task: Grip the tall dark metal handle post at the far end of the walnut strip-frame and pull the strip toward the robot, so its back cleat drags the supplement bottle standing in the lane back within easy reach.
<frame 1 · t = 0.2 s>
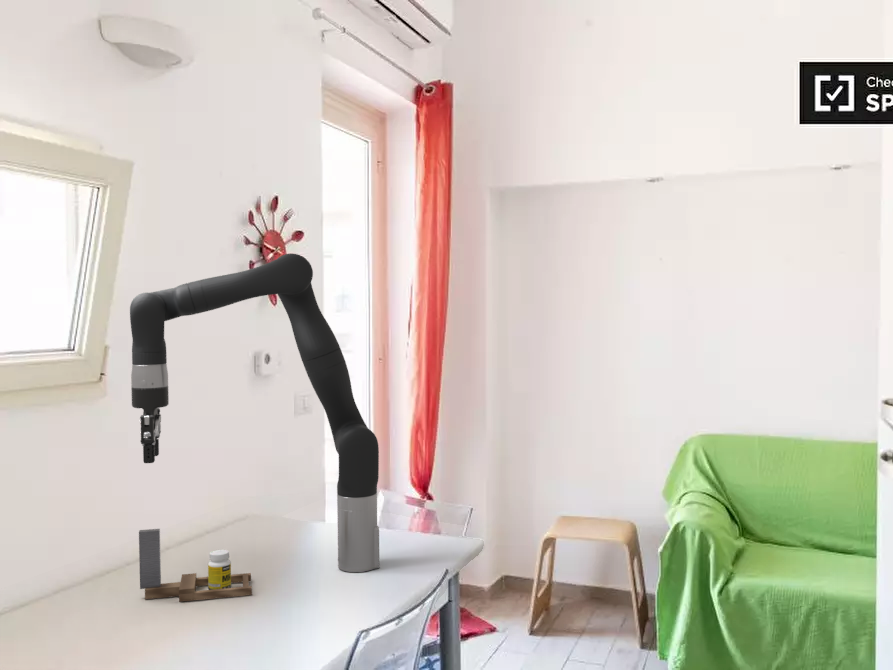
hand: (151, 459, 176), 28 cm above the table, fingers open, 8 cm apart
supplement bottle: (219, 591, 174), resting in strip frame
strip frame: (196, 559, 173), point 7 cm above the table, slide at 0.0 cm
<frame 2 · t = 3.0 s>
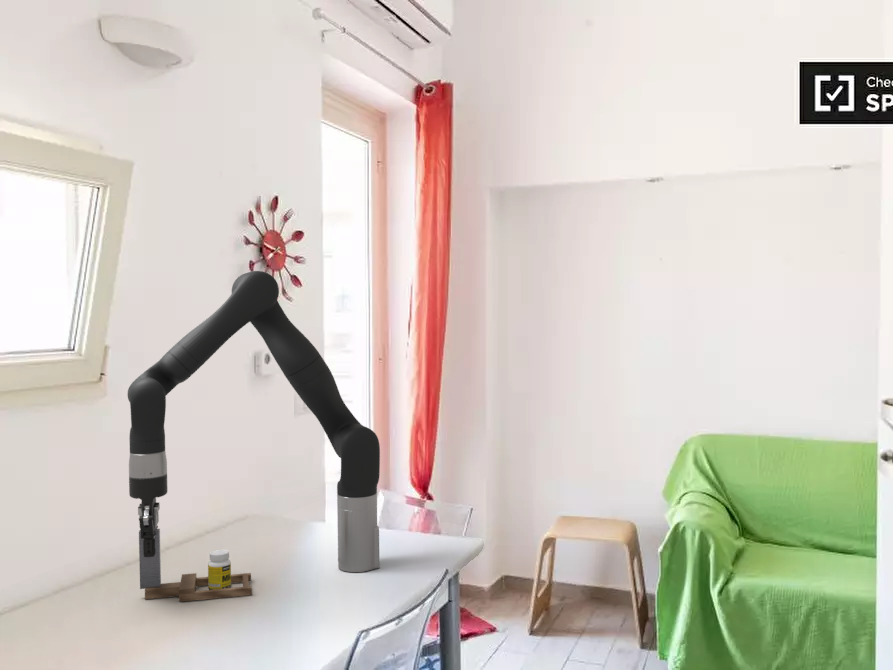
hand: (149, 554, 170), 9 cm above the table, fingers closed on strip frame
strip frame: (196, 559, 173), point 7 cm above the table, slide at 0.0 cm, touching gripper
everything else where it was.
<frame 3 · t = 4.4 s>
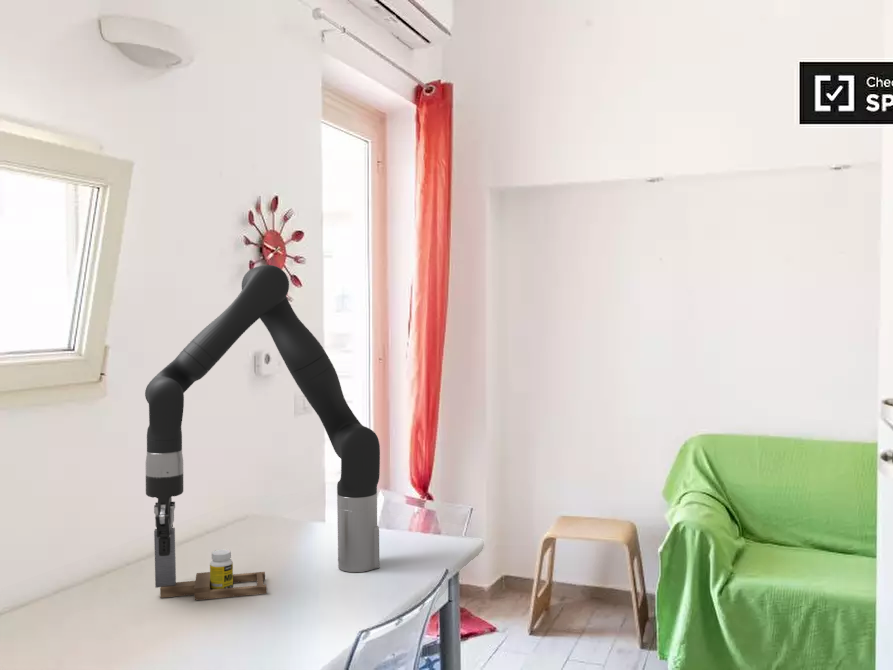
hand: (165, 553, 171), 9 cm above the table, fingers closed on strip frame
supplement bottle: (221, 591, 174), resting in strip frame
strip frame: (211, 558, 174), point 7 cm above the table, slide at 3.0 cm, touching supplement bottle, gripper
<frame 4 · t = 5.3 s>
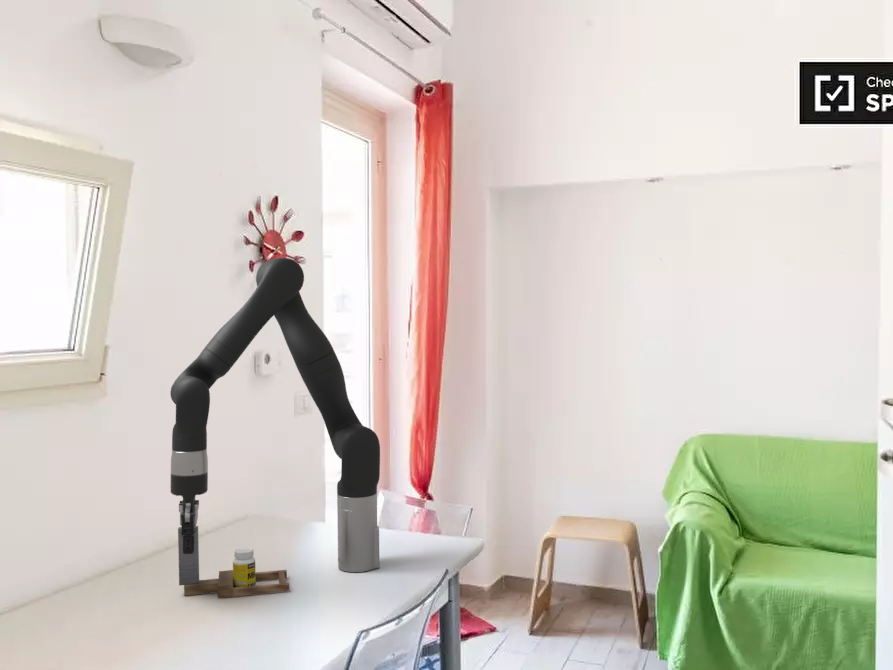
hand: (188, 551, 172), 9 cm above the table, fingers closed on strip frame
supplement bottle: (244, 589, 176), resting in strip frame
strip frame: (234, 556, 175), point 7 cm above the table, slide at 7.8 cm, touching supplement bottle, gripper
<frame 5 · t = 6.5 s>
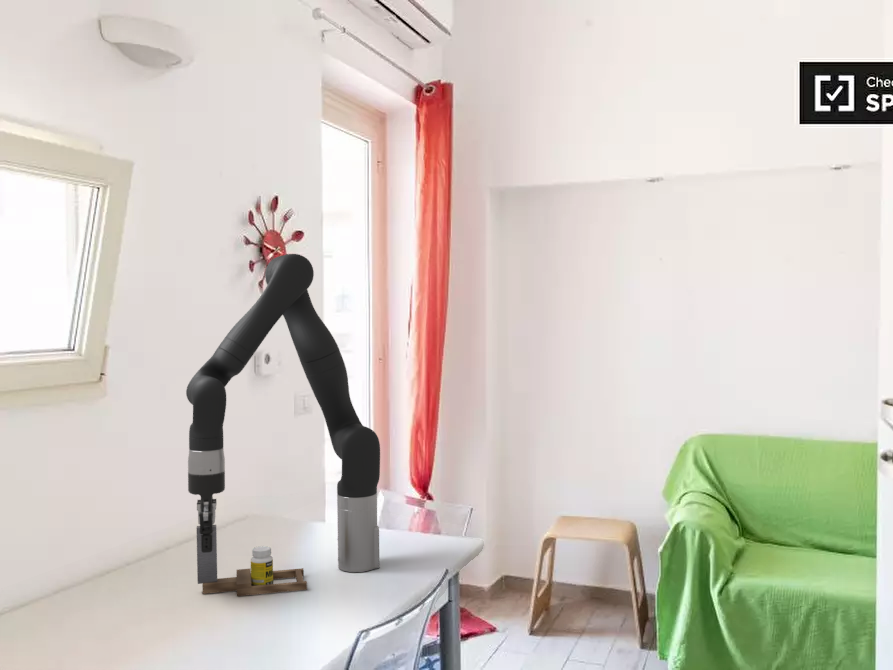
hand: (207, 550, 173), 9 cm above the table, fingers closed on strip frame
supplement bottle: (262, 587, 177), resting in strip frame
strip frame: (251, 554, 176), point 7 cm above the table, slide at 11.5 cm, touching gripper
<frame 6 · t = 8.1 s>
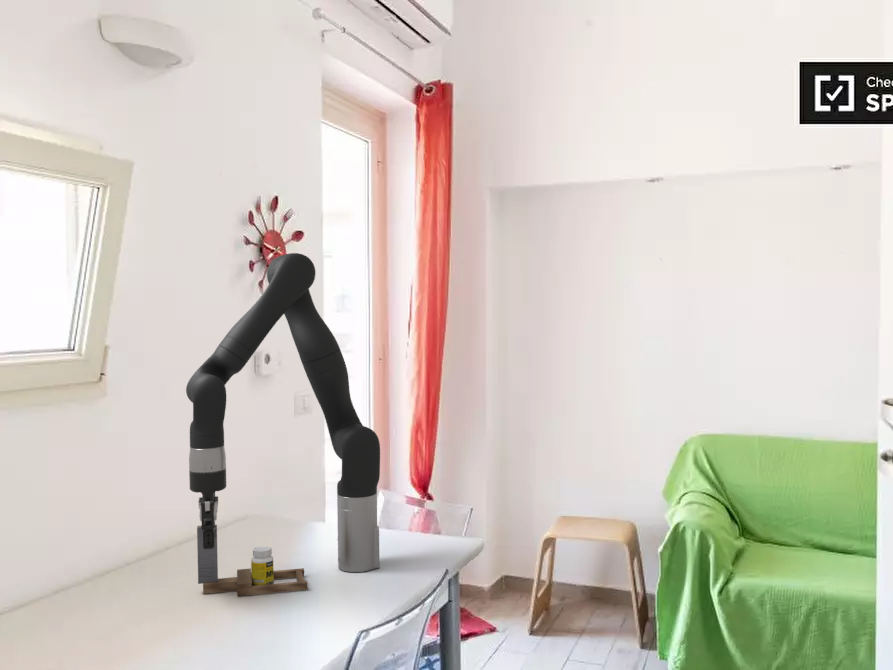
hand: (209, 542, 173), 11 cm above the table, fingers open, 8 cm apart
strip frame: (252, 554, 176), point 7 cm above the table, slide at 11.6 cm
everything else where it was.
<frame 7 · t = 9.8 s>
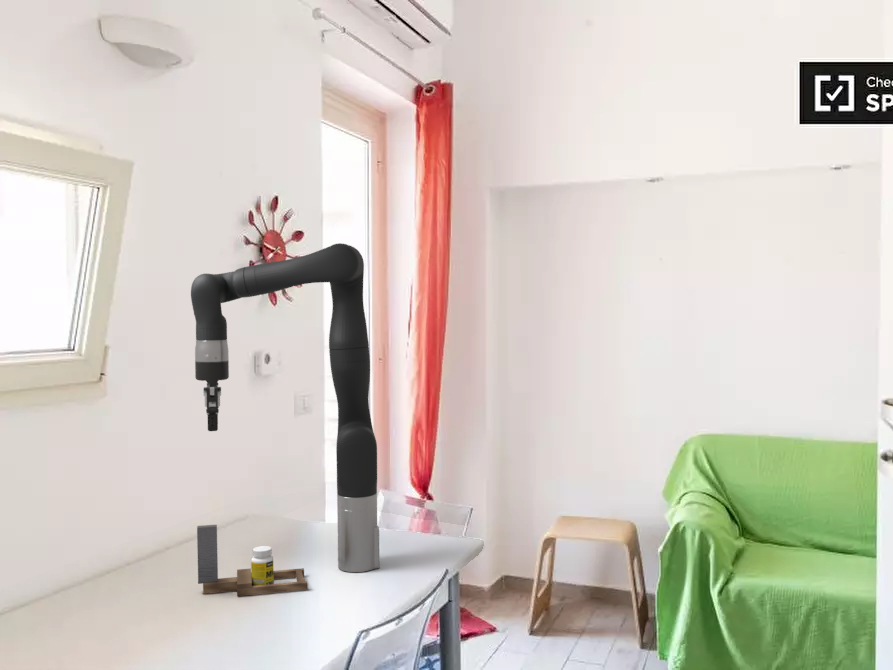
hand: (212, 428, 190), 33 cm above the table, fingers open, 8 cm apart
nothing on the table moved.
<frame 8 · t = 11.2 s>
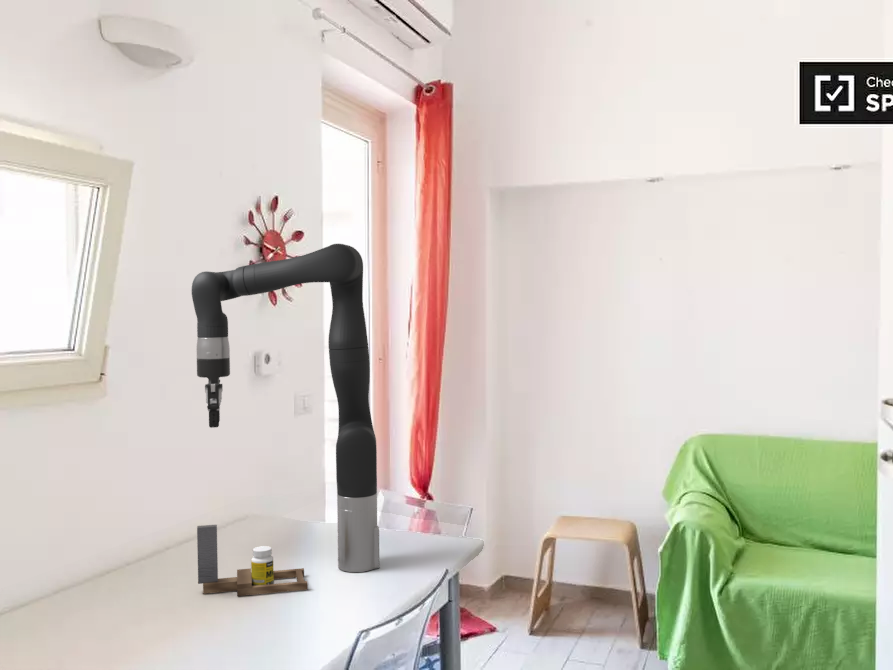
hand: (214, 424, 192), 33 cm above the table, fingers open, 8 cm apart
nothing on the table moved.
at the end: strip frame slide at 11.6 cm; supplement bottle inside the target area (1.5 cm from its centre), resting in strip frame; supplement bottle tilted 0° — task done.
